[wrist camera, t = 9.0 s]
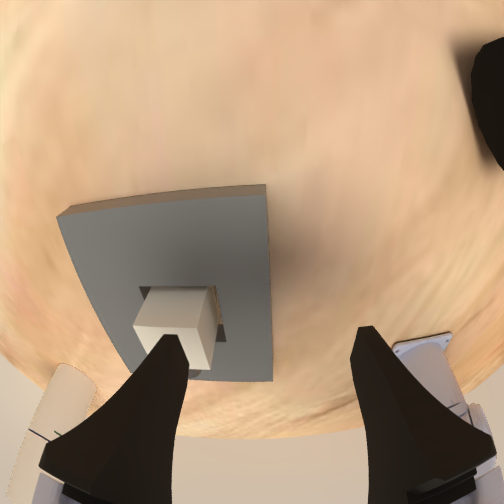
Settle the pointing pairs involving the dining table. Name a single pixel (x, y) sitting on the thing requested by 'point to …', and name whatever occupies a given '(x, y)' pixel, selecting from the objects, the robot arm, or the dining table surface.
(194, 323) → the plug
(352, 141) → the dining table surface
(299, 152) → the dining table surface
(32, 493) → the cylindrical container
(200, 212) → the socket plate
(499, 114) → the black white cylinder
